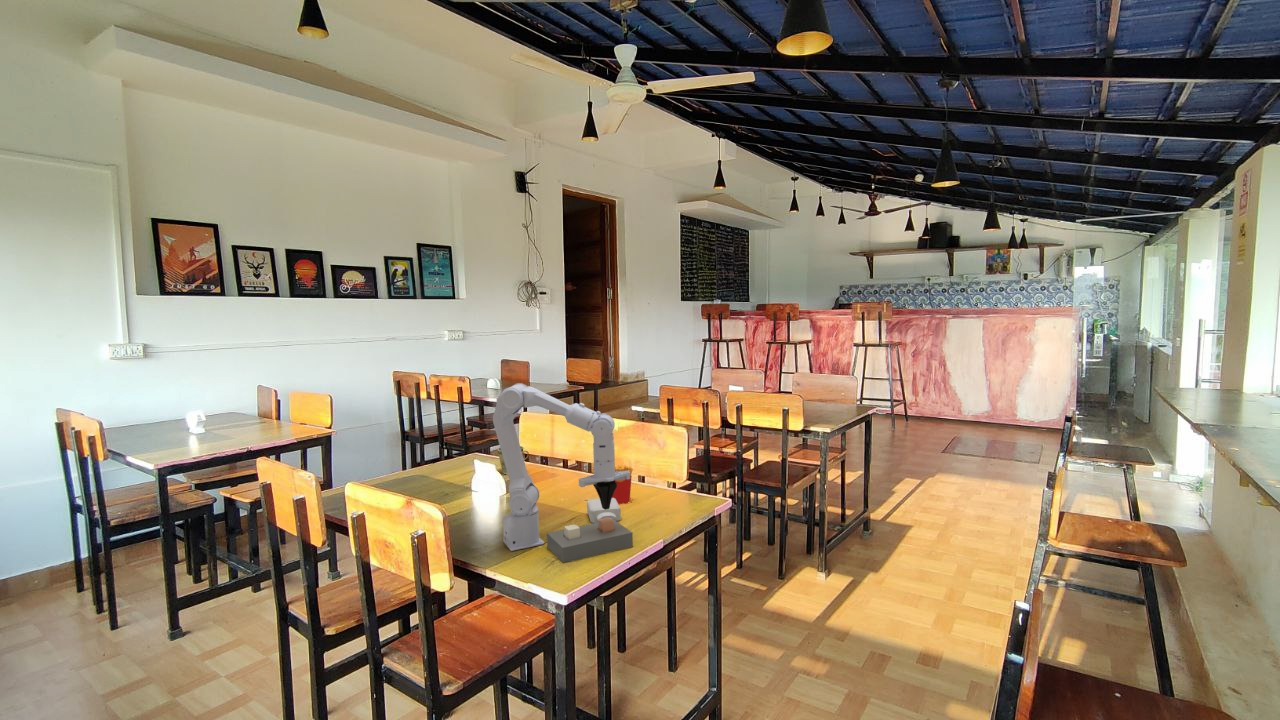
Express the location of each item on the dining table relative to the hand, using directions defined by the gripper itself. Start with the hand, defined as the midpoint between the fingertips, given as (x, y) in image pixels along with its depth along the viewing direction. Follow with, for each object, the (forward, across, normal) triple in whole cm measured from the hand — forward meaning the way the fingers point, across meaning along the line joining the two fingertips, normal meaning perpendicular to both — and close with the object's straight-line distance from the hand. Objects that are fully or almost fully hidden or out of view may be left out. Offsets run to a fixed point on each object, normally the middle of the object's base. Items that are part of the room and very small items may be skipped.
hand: (605, 508), depth 168 cm
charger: (+10, +7, +17) cm, 21 cm away
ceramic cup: (+10, -1, +84) cm, 85 cm away
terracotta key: (+6, 0, 0) cm, 6 cm away
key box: (+10, -5, 0) cm, 11 cm away
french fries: (+10, +19, +30) cm, 37 cm away
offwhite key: (+6, -10, 0) cm, 12 cm away
